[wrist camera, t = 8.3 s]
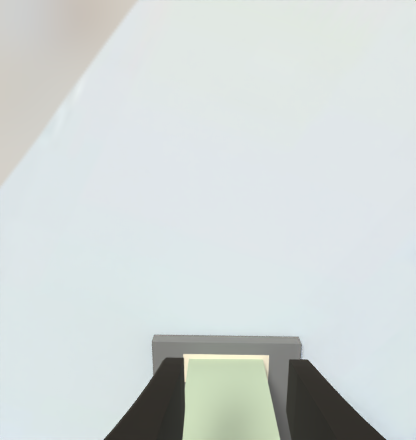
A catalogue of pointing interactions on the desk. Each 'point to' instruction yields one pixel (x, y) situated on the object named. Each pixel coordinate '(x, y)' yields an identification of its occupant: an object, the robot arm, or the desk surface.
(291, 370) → the robot arm
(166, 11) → the desk surface
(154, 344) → the board
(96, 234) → the desk surface
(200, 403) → the green domino
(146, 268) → the desk surface
